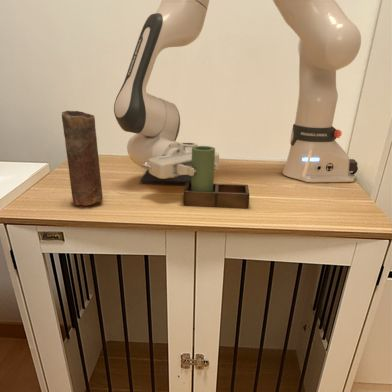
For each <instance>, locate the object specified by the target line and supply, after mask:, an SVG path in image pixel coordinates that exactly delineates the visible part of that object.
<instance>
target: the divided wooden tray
mask: <svg viewBox="0 0 392 392" xmlns="http://www.w3.org/2000/svg"><path fill="white" fill-rule="evenodd" d="M249 204H250V189H249V184H240V183H239V184H238V183H236V184H235V183H219V182H218V183H217V182H215V183H214V182H213V192H206V191H191V182H186V185H184V189H183V206H186V207H187V206H188V207H206V208H207V207H208V208H210V207H211V208H229V209H230V208H232V209H249V206H250V205H249Z"/></svg>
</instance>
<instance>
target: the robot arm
mask: <svg viewBox="0 0 392 392" xmlns="http://www.w3.org/2000/svg"><path fill="white" fill-rule="evenodd" d="M272 2H273V4H274V5H275V7H276V8H277V9H276V10H277V11H278V12H279V13H280V15H281V17H282V19H283V20H284V23H285V24H286V25H287V26H288V27H290V29H292V31H293V32H294V33H295V34H296V35H297V37H298V38H299V40H298V44H297V53H298V57H299V66H298V67H299V68H298V69H299V70H298V71H299V72H298V75H299V76H298V80H299V81H298V86H299V87H298V98H297V107H296V113H295V114H296V115H295V120H294V123H293V125H292V128H291V134H290V139H289V140H290V141H289V142H290V146H289V151H288V155H287V158H286V161H285V163H284V166H283V170H282V171H281V173H282V175H284V176H286V177H288V178H291V179H295V180H300V181H303V182H305V183H352V182H354V181H355V177H356V176H355V174H356V173H357V172H358V170H359V167H358V162H357V161H356V160H355V159H354V158H350V156H349V155H348V154H347V152H346V150H344V149H343V147H342V146H341V145H340V144H339V143H338V142H337V141H336V140H337V139H339V138H341V137H342V134H343V132H342V131H341V130H340V129H336V128H335V127H334V126H333V123H334V119H335V113H336V108H337V102H338V97H339V94H338V88H337V71H339V70H341V69H344V68H345V67H347V66H350V65H351V63H353V61H354V60H355V59H356V57H357V56H358V54H359V52H360V49H361V45H362V35H361V32H360V30H359V28H358V26H357V25H356V24H355V23H354V22H352V20H350V19H349V17H348V16H347V14H346V13H345V11H343V9H342V8H341V6H340V5H339V4H338V3H337V1H336V0H272ZM209 4H210V0H161V3H160V4H159V6H158V8H157V10H156V12H155V13H151V14H150V15H149V16H148V17H147V18H146V20H145V22H144V24H143V26H142V28H141V31H140V34H139V36H138V40H137V42H136V45H135V48H134V51H133V55H132V57H131V59H130V63H129V66H128V69H127V72H126V75H125V78H124V81H123V83H122V85H121V88H120V90H119V91H118V93H117V95H116V97H115V101H114V104H113V115H114V118H115V119H116V122H117V124H118V125H119V127H120V128H121V130H123V131H124V132H127V133H131V134H132V133H133V134H134V135H132V136H131V137H130V138H129V140H128V141H127V145H126V151H127V155H128V157H129V159H130V160H131V161H132V162H133V163H134V164H135V165H136V166H138V167H139V168H142V169H144V170H146V171H147V170H149V173H150V174H151V175H153V176H155V177H158V178H161V179H166V178H175V177H177V176H180V175H190V176H194V175H197V168H196V167H193V166H192V147H195V146H199V145H198V144H197V143H195V142H179V141H177V139H178V137H179V133H180V127H181V116H180V112H179V109H178V107H177V106H176V104H174V103H173V102H170V101H168V100H165V99H163V98H161V97H157V96H155V95H152V94H150V93H147V86H148V83H149V80H150V77H151V74H152V71H153V69H154V65H155V63H156V60H157V58H158V55H159V54H160V53H161V52H162V51H163V50H165V49H168V48H180V47H185V46H188V45H191V44H192V43H193V42H195V41H196V40H197V39H198V38H199V37H200V35H201V32H202V31H203V28H204V25H205V21H206V18H207V13H208V8H209ZM219 166H220V154H219V152H217V151H215V159H214V172H217V171H218V168H219Z"/></svg>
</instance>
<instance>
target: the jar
mask: <svg viewBox="0 0 392 392" xmlns="http://www.w3.org/2000/svg"><path fill="white" fill-rule="evenodd" d="M215 152H216V147H213V146H209V145H198V146H195V147H192V166H193V167H196V168H197V175H194V176H191V191H206V192H213V183H214V178H215V171H214V159H215Z"/></svg>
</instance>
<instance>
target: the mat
mask: <svg viewBox="0 0 392 392" xmlns="http://www.w3.org/2000/svg"><path fill="white" fill-rule="evenodd" d="M186 182H191V176H190V175H180V176H177V177H175V178H166V179H161V178H158V177H155V176H153V175H151V174H150V173H149V170H146V171H145V173H144V174H143V176H142V178H141V179H140V184H141V185H164V186H165V185H167V186H185V185H186Z"/></svg>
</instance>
